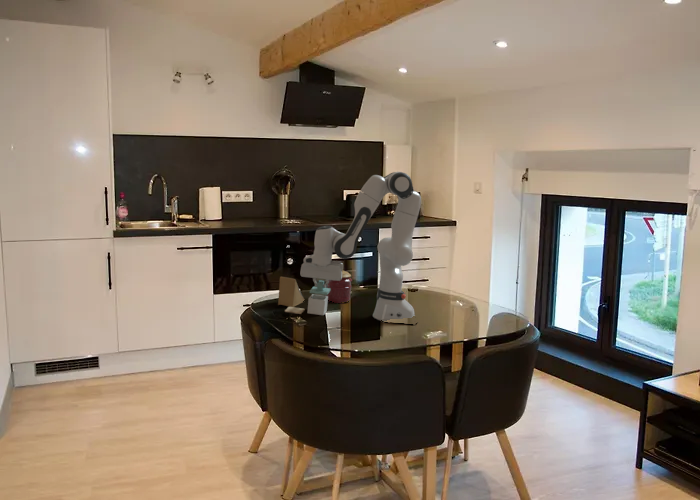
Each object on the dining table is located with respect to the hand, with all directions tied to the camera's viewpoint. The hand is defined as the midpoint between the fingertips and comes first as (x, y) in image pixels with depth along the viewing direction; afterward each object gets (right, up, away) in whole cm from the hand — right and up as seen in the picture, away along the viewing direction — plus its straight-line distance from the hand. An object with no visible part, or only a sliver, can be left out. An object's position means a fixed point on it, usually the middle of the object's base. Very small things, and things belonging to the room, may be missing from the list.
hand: (320, 287), depth 306 cm
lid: (0, -2, 0) cm, 2 cm away
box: (-2, -13, +2) cm, 13 cm away
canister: (+8, -9, +29) cm, 31 cm away
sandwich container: (-15, -9, +15) cm, 23 cm away
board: (-13, -12, +1) cm, 17 cm away
